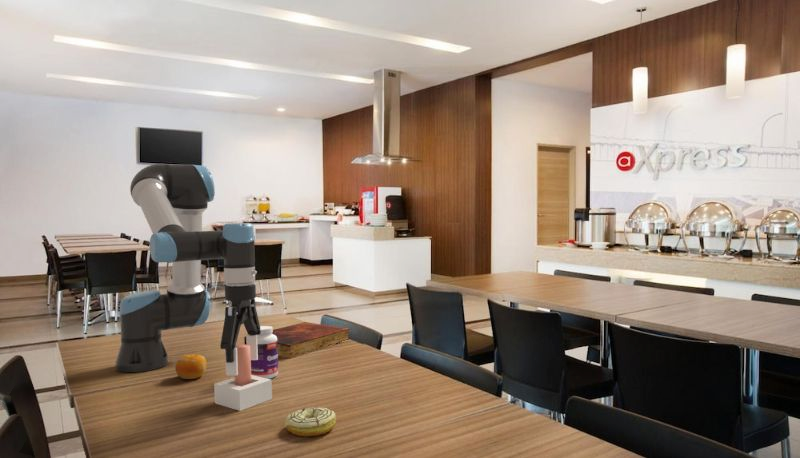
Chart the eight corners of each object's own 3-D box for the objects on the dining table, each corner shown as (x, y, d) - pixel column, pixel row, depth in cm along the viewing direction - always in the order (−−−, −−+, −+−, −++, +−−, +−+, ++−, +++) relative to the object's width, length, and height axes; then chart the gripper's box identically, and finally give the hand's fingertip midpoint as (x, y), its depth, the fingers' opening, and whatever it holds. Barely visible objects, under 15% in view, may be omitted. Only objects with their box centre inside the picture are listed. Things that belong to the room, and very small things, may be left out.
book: (305, 334, 217) (304, 322, 217) (350, 341, 203) (350, 328, 203) (244, 350, 193) (243, 336, 193) (290, 360, 179) (290, 345, 179)
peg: (232, 401, 138) (230, 347, 138) (245, 397, 141) (243, 343, 141) (242, 404, 136) (240, 349, 136) (255, 400, 139) (253, 345, 139)
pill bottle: (271, 381, 155) (269, 331, 154) (245, 380, 156) (243, 330, 156) (282, 373, 163) (281, 325, 162) (258, 372, 164) (256, 324, 164)
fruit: (217, 363, 162) (200, 342, 161) (197, 381, 155) (179, 359, 154) (202, 372, 166) (186, 352, 165) (182, 390, 159) (165, 369, 158)
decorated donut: (301, 418, 127) (301, 402, 127) (343, 423, 123) (343, 406, 123) (277, 435, 117) (277, 418, 117) (322, 441, 113) (321, 423, 113)
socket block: (214, 403, 137) (214, 383, 137) (246, 392, 146) (246, 373, 145) (240, 410, 132) (239, 390, 132) (272, 398, 140) (271, 379, 140)
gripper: (234, 290, 125) (237, 382, 126) (270, 277, 150) (273, 354, 150) (203, 291, 126) (206, 382, 126) (244, 278, 151) (246, 354, 151)
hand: (242, 367), depth 138 cm, fingers open, 13 cm apart
